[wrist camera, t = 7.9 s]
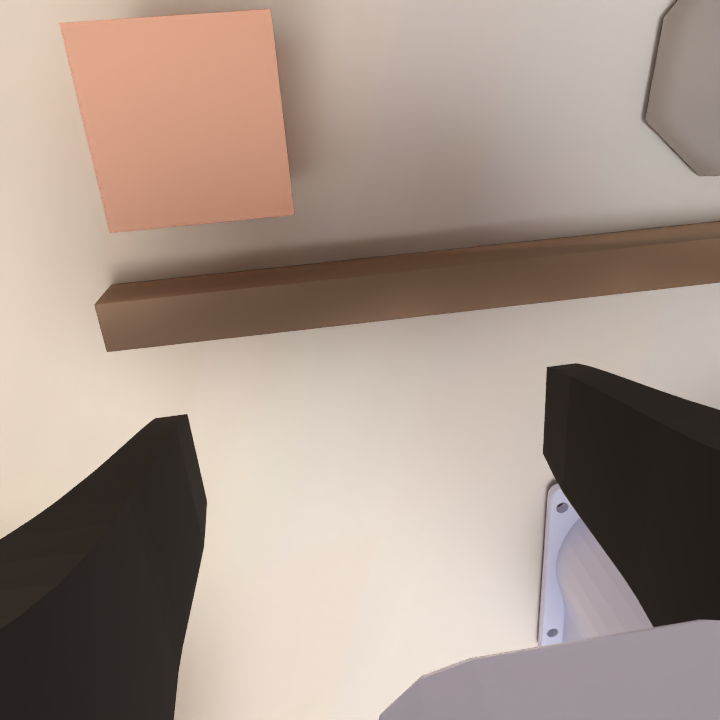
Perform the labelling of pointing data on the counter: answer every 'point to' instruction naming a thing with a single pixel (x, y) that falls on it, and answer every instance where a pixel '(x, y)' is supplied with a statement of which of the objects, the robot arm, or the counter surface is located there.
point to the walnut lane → (405, 286)
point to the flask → (689, 84)
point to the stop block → (182, 117)
